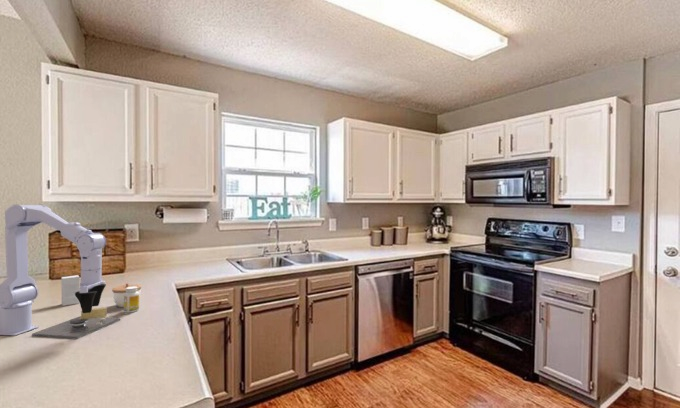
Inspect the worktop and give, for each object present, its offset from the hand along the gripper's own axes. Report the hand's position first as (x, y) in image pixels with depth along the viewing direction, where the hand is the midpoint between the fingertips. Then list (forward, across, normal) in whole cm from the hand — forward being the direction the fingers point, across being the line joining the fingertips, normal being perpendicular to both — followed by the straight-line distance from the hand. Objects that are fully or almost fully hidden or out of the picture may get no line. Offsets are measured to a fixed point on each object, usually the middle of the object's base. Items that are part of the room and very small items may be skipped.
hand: (90, 309), depth 114 cm
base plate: (+8, +8, +6) cm, 13 cm away
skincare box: (+9, +44, +21) cm, 50 cm away
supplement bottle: (+8, +24, -7) cm, 26 cm away
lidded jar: (+9, +34, -3) cm, 35 cm away
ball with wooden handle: (+6, +8, +3) cm, 11 cm away
